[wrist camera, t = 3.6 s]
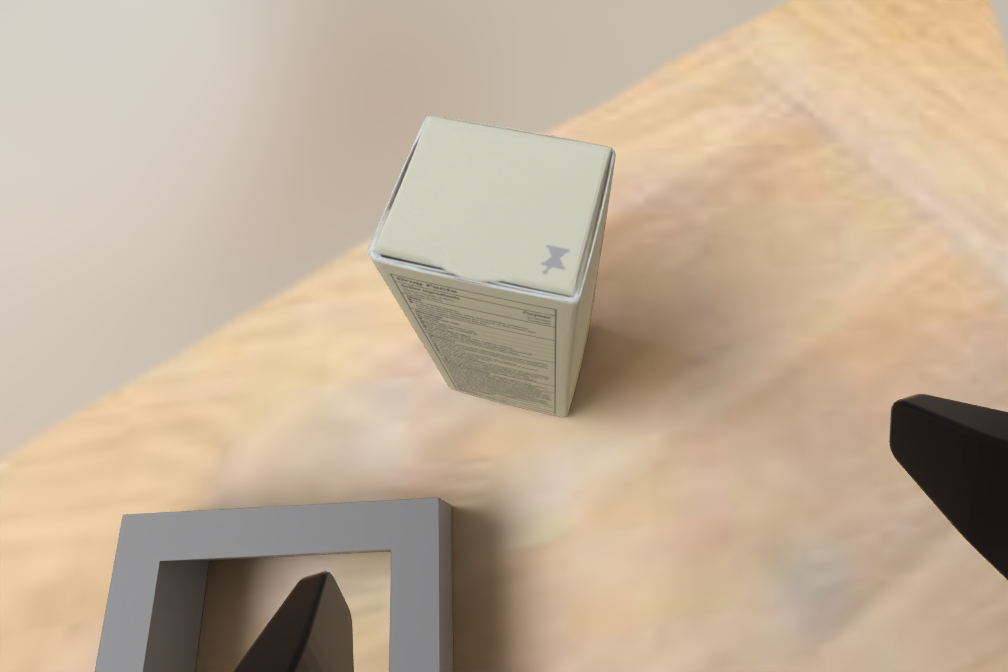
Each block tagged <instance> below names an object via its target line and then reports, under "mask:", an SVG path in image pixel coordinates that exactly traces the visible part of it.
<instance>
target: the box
mask: <svg viewBox="0 0 1008 672" xmlns="http://www.w3.org/2000/svg"><path fill="white" fill-rule="evenodd" d="M614 163H615V151H614V150H613V148H610V147H608V146H603V145H598V144H593V143H589V142H583V141H578V140H572V139H568V138H563V137H556V136H552V135H545V134H541V133H534V132H529V131H525V130H519V129H511V128H506V127H501V126H495V125H488V124H482V123H475V122H469V121H463V120H457V119H450V118H445V117H439V116H428V117H427V118H426V119H425V120H424V122H423V124H422V126H421V128H420V130H419V133H418V135H417V137H416V139H415V142H414V144H413V146H412V148H411V151H410V153H409V155H408V158H407V159H406V161H405V164H404V166H403V168H402V170H401V173H400V175H399V177H398V180H397V182H396V185H395V187H394V189H393V191H392V193H391V196H390V199H389V201H388V203H387V205H386V208H385V210H384V212H383V214H382V217H381V220H380V222H379V225H378V227H377V229H376V232H375V234H374V237H373V239H372V241H371V244H370V246H369V249H368V253H369V256H370V258H371V259H372V261H373V263H374V264H375V266H376V267H377V269H378V271H379V272H380V274H381V276H382V277H383V279H384V281H385V282H386V284H387V286H388V287H389V289H390V290H391V292H392V294H393V295H394V297H395V299H396V300H397V302H398V304H399V305H400V307H401V309H402V310H403V312H404V314H405V315H406V317H407V318H408V320H409V322H410V323H411V325H412V327H413V328H414V330H415V332H416V333H417V335H418V337H419V338H420V340H421V342H422V343H423V345H424V346H425V348H426V350H427V351H428V353H429V355H430V356H431V358H432V360H433V361H434V363H435V364H436V366H437V368H438V370H439V371H440V373H441V375H442V376H443V378H444V380H445V382H446V383H447V385H448V386H449V387H450V388H451V389H454V390H457V391H460V392H464V393H467V394H470V395H474V396H477V397H481V398H485V399H488V400H492V401H496V402H500V403H504V404H509V405H513V406H517V407H521V408H525V409H528V410H533V411H537V412H542V413H546V414H551V415H555V416H560V417H566V416H567V414H568V412H569V409H570V405H571V402H572V398H573V395H574V392H575V388H576V384H577V380H578V376H579V372H580V368H581V364H582V360H583V355H584V351H585V347H586V342H587V337H588V332H589V327H590V321H591V314H592V307H593V301H594V294H595V288H596V280H597V274H598V268H599V261H600V255H601V249H602V243H603V236H604V230H605V224H606V217H607V210H608V204H609V197H610V190H611V183H612V176H613V169H614Z"/></svg>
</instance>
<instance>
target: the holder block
mask: <svg viewBox="0 0 1008 672" xmlns="http://www.w3.org/2000/svg"><path fill="white" fill-rule="evenodd" d="M386 551H391V596H390V643H389V672H453V601H452V528H451V505H450V504H448V503H446V502H445V501H443V500H441V499H440V498H423V499H405V500H386V501H367V502H349V503H330V504H312V505H293V506H274V507H256V508H237V509H219V510H200V511H181V512H163V513H144V514H126V515H123V517H122V522H121V528H120V533H119V539H118V544H117V550H116V555H115V561H114V567H113V572H112V578H111V583H110V589H109V594H108V600H107V606H106V611H105V617H104V622H103V628H102V633H101V639H100V645H99V650H98V656H97V661H96V667H95V672H195V668H196V660H197V652H198V645H199V637H200V629H201V621H202V613H203V605H204V597H205V589H206V581H207V573H208V565H209V560H228V559H248V558H268V557H287V556H307V555H327V554H347V553H366V552H386Z"/></svg>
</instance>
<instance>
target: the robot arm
mask: <svg viewBox="0 0 1008 672" xmlns="http://www.w3.org/2000/svg"><path fill="white" fill-rule="evenodd" d="M890 448H891V451H892V453H893V455H894V457H895V458H896V460H897V461H898V462H899V463H900V465H901V466H902V467H903V468H904V469H905V470H906V471H907V473H908V474H909V475H910V476H911V477H912V478H913V480H914V481H915V482H916V483H917V484H918V485H919V486H920V488H921V489H922V490H923V491H924V492H925V493H926V495H927V496H928V497H929V498H930V499H931V500H932V501H933V503H934V504H935V505H936V506H937V507H938V508H939V510H940V511H941V512H942V513H943V514H944V515H945V516H946V518H947V519H948V520H949V521H950V522H951V523H952V525H953V526H954V527H955V528H956V529H957V530H958V531H959V532H960V533H961V534H962V536H963V537H964V538H965V539H966V540H967V541H968V542H969V543H970V544H971V545H972V546H973V547H974V548H975V549H976V550H977V551H978V552H979V553H980V554H981V555H982V556H983V557H984V558H985V559H986V560H987V561H988V562H989V563H991V564H992V565H993V566H994V567H995V568H996V569H997V570H998V571H999V572H1000V573H1001V574H1002V575H1003V576H1004V577H1005V578H1006V579H1007V580H1008V412H1004V411H1000V410H995V409H990V408H986V407H981V406H977V405H972V404H967V403H963V402H958V401H953V400H949V399H944V398H940V397H935V396H930V395H925V394H917V395H913V396H910V397H907V398H903V399H900V400H897V401H896V402H894V404H893V406H892V408H891V422H890ZM233 672H354V663H353V633H352V619H351V614H350V610H349V608H348V605H347V603H346V601H345V599H344V597H343V595H342V593H341V591H340V589H339V587H338V585H337V583H336V581H335V579H334V577H333V576H332V574H331V573H330V572H326V571H324V572H321V573H317V574H314V575H311V576H307V577H305V578H302V579H301V580H300V581H299V582H298V583H297V585H296V586H295V587H294V589H293V590H292V591H291V593H290V594H289V596H288V597H287V598H286V600H285V601H284V602H283V604H282V605H281V607H280V608H279V609H278V611H277V612H276V613H275V615H274V616H273V618H272V619H271V620H270V622H269V623H268V624H267V626H266V627H265V629H264V630H263V631H262V633H261V634H260V635H259V637H258V638H257V640H256V641H255V642H254V644H253V645H252V646H251V648H250V649H249V651H248V652H247V653H246V655H245V656H244V657H243V659H242V660H241V662H240V663H239V664H238V666H237V667H236V668H235V670H234V671H233Z"/></svg>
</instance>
